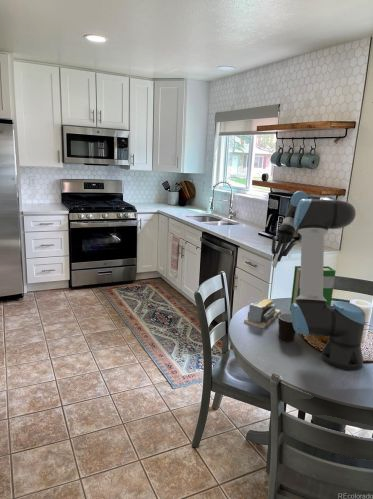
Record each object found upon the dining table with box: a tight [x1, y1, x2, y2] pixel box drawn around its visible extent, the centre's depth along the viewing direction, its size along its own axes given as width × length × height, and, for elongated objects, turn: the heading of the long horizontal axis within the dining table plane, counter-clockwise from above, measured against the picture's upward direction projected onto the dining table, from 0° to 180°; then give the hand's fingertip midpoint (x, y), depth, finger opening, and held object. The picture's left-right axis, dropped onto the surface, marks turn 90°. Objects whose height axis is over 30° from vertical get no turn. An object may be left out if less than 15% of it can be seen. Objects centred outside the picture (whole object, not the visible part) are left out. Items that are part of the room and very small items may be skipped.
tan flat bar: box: [256, 298, 274, 312], centre depth 187 cm, size 2×5×14 cm
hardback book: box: [289, 265, 336, 312], centre depth 193 cm, size 18×7×24 cm, turn 95°
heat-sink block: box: [247, 302, 277, 324], centre depth 186 cm, size 19×9×8 cm, turn 147°
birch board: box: [243, 308, 282, 329], centre depth 188 cm, size 22×10×2 cm, turn 147°
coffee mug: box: [277, 313, 297, 343], centre depth 168 cm, size 12×9×10 cm
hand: (273, 266), depth 189 cm, fingers closed
